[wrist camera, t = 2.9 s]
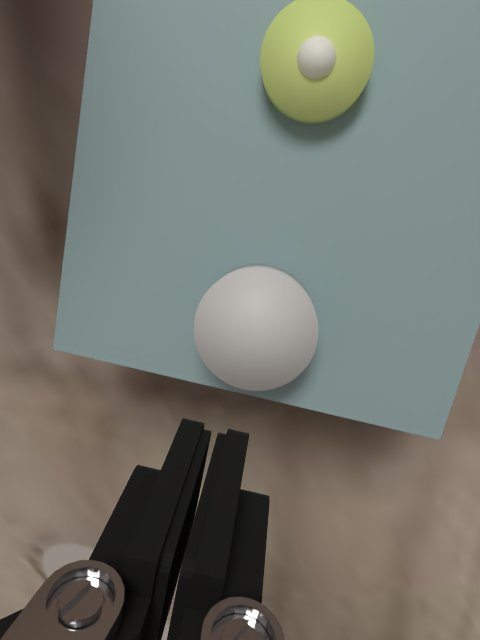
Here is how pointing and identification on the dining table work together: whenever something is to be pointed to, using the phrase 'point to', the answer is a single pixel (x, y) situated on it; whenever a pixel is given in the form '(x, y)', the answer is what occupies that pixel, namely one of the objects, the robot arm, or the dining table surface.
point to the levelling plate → (281, 201)
